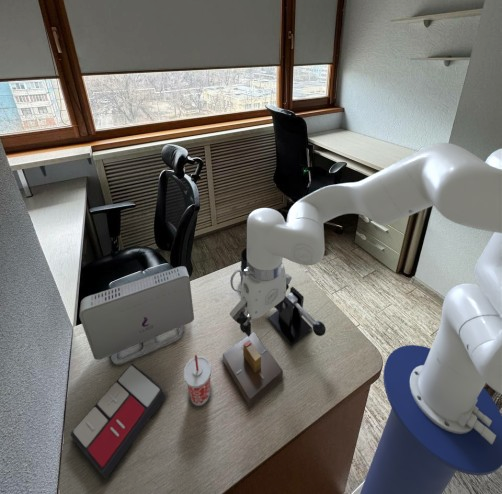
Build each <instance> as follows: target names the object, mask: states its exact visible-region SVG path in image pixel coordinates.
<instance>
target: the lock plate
mask: <svg viewBox="0 0 502 494" xmlns="http://www.w3.org/2000/svg"><path fill="white" fill-rule="evenodd" d="M248 340H250V342H251V343H252V344H253V346H254V347H255V349H256V350H257V351H258V353H259V354H260V356H261V369H259V370H258V371H257V372H256V373H255V372H254V371H253V369H252V368H251V366H250V364H249V363H248V361H247V360H246V358H245V357H244V355H243V344H244V343H245V342H246V341H248ZM266 347H267V346H265V344H264V343H263V342H262V341H261V339H260V338H259V336H258V335H257V334H256V332H255V331H251V335H250V336H249V337H248V336H247V335H246V336H245V337H244V338H242V339H241V340H240V341H238V342H237V343H236V344H234V345H232V347H230V348H229V349H227V350H226V351H224V352H223V353H222V362H223V364H224V365H225V367H226V369H227V370H228V372H229V374H230V375H231V377H232V379H233V381H234V382H235V384H236V386H237V387H238V389H239V391H240V393H241V395H242V396H243V398H244V400H245V401H246V404H247V405H248V407H252V406H253V405H254V404H255V403H256V402H257V401H258V400H259V399H261V398H262V397H263V396H264V395H265V394H267V392H269V390H270V389H272V388H273V387H274V386H275V385H276V384H277V383H278V382H279V381H280V380H282V379H283V375H284V373H283V372H284V370H283V369H282V367H281V366H280V364H278V362H277V361H276V359H275V358H274V357H273V355H272V354H271V352H270V351H269V349H267V348H266Z"/></svg>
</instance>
